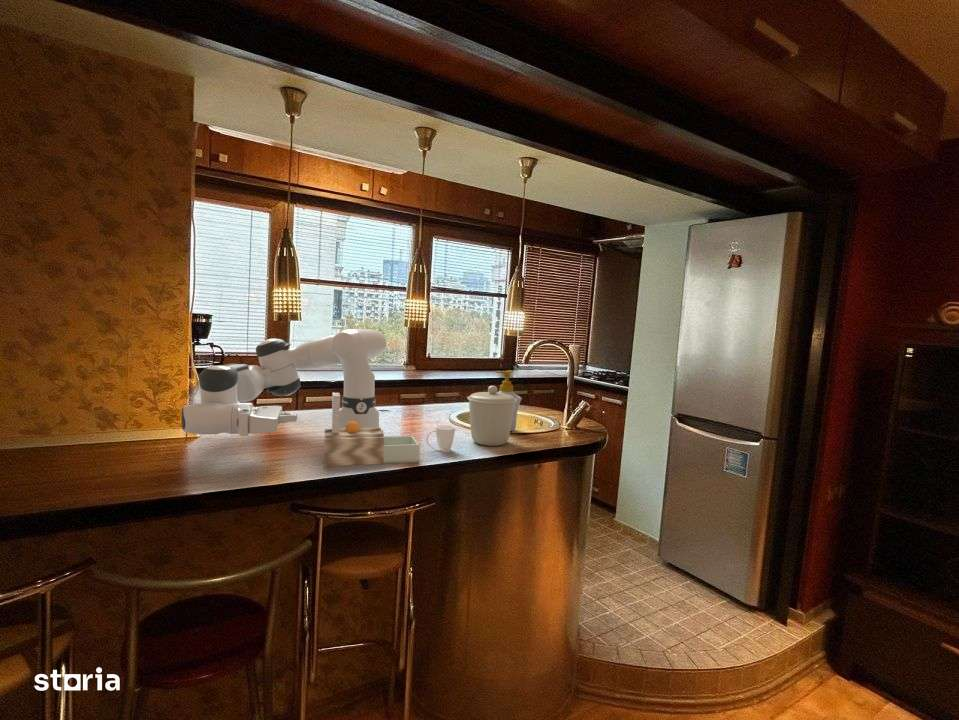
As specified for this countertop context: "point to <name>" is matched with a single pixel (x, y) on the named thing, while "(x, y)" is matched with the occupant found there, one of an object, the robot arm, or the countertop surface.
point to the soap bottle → (508, 389)
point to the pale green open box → (400, 449)
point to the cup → (443, 437)
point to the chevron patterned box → (354, 447)
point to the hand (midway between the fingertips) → (297, 417)
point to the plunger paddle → (335, 413)
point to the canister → (491, 416)
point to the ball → (352, 427)
